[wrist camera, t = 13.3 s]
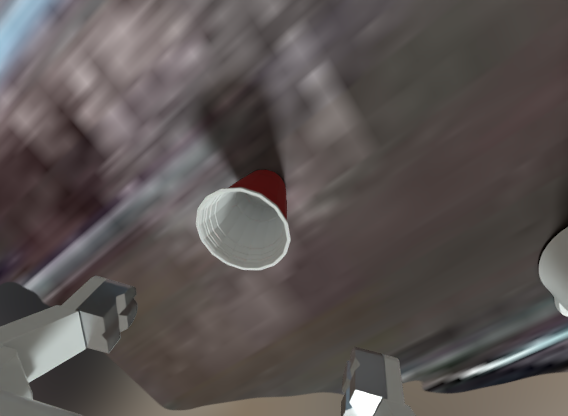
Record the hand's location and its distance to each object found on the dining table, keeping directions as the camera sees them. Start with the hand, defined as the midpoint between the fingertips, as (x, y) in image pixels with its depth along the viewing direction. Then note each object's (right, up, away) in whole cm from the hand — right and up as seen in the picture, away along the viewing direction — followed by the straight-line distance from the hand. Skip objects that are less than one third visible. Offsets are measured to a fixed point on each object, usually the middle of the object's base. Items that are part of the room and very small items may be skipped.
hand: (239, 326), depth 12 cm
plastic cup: (-1, +7, +35) cm, 36 cm away
